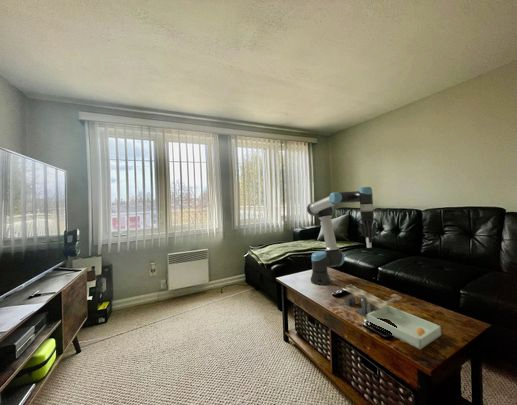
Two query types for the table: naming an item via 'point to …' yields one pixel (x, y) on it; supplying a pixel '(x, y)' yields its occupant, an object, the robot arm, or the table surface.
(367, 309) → the stand
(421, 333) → the ball
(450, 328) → the table surface
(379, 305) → the lever
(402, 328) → the tray
